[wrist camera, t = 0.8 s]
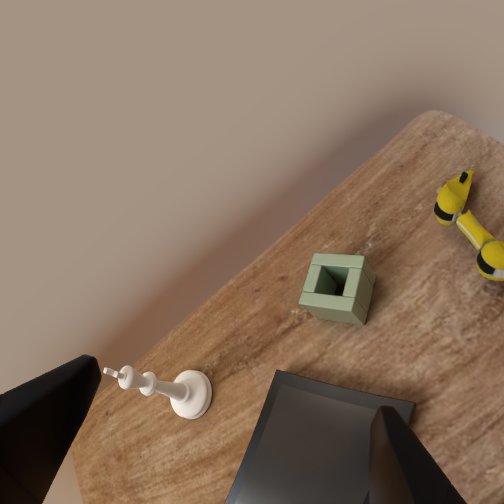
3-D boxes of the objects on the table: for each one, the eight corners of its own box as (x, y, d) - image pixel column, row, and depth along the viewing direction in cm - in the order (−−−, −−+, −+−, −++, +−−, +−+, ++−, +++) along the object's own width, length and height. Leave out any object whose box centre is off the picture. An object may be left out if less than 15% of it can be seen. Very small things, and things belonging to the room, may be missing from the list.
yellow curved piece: (415, 214, 24) (421, 180, 21) (466, 194, 24) (474, 162, 21) (487, 310, 17) (507, 280, 14) (536, 275, 17) (555, 245, 15)
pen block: (364, 326, 23) (351, 311, 21) (316, 318, 26) (298, 303, 23) (376, 275, 24) (364, 255, 22) (330, 271, 27) (313, 252, 25)
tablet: (331, 586, 13) (325, 592, 12) (220, 530, 20) (210, 533, 19) (416, 403, 18) (414, 402, 17) (283, 371, 25) (275, 368, 24)
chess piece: (204, 425, 26) (113, 409, 19) (169, 411, 29) (84, 390, 22) (217, 375, 28) (130, 346, 21) (181, 366, 31) (100, 336, 24)
